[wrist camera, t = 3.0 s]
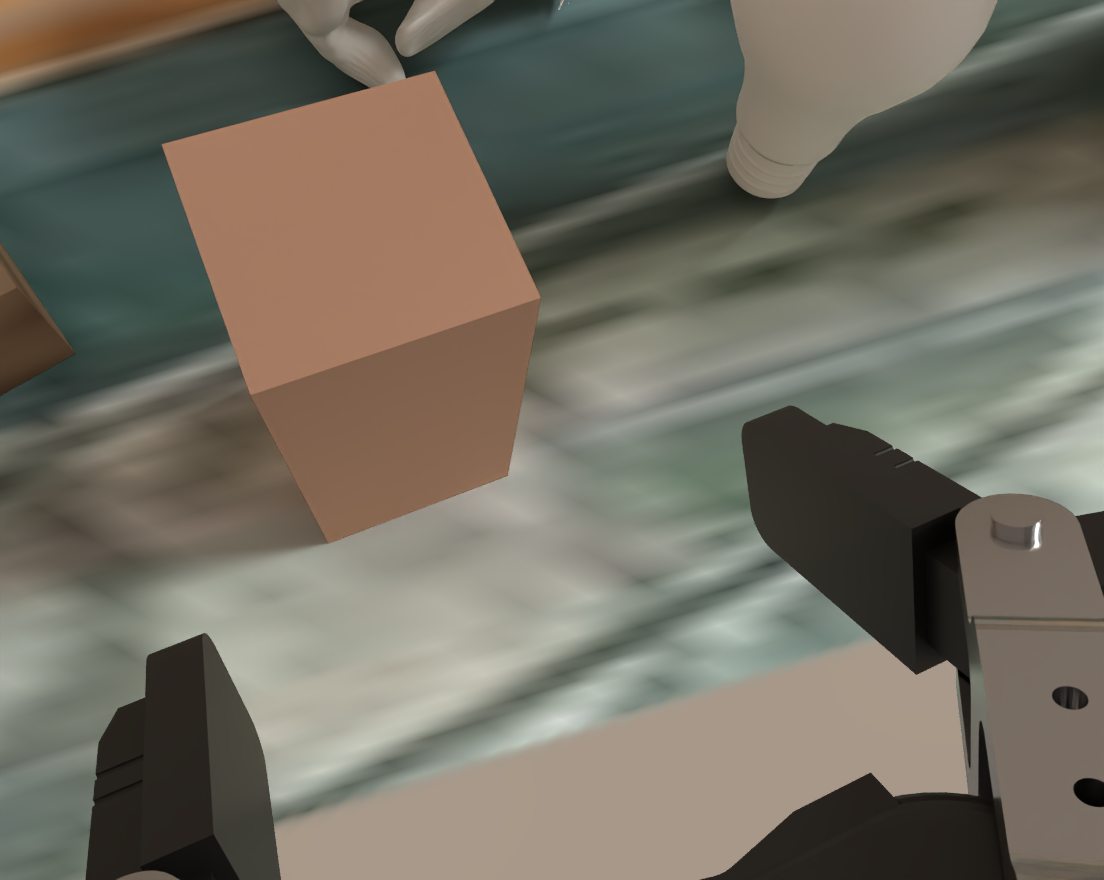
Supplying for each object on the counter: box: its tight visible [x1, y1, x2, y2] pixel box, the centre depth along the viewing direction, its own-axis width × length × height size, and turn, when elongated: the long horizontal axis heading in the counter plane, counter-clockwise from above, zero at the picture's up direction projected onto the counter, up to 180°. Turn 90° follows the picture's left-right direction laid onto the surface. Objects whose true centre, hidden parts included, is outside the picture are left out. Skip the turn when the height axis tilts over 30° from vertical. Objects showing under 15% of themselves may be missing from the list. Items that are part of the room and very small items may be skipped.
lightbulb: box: [726, 0, 998, 198], centre depth 24 cm, size 6×6×11 cm
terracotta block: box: [162, 71, 541, 543], centre depth 21 cm, size 5×5×10 cm
